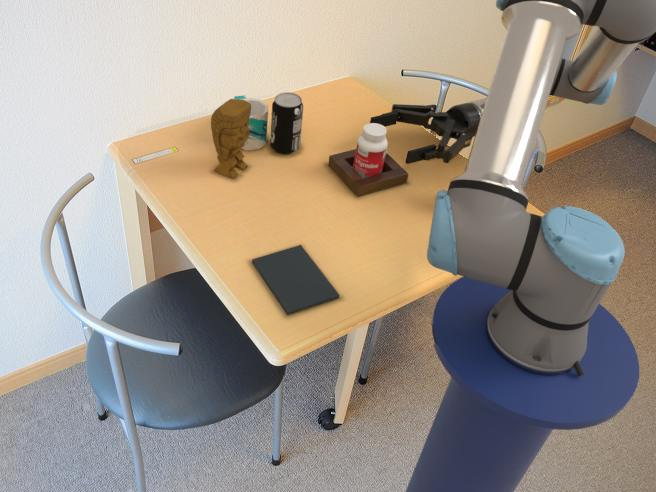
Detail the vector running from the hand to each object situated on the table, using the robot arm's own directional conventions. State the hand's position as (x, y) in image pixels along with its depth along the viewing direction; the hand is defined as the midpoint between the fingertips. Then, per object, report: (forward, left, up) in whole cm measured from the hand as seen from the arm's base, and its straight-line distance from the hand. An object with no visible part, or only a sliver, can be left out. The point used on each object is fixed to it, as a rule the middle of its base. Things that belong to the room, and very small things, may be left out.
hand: (388, 140), depth 135 cm
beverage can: (+15, +16, -8) cm, 23 cm away
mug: (+23, +21, -8) cm, 33 cm away
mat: (-22, +33, -7) cm, 40 cm away
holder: (0, +4, -7) cm, 8 cm away
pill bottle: (0, +4, -8) cm, 9 cm away
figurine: (+13, +30, -8) cm, 34 cm away
